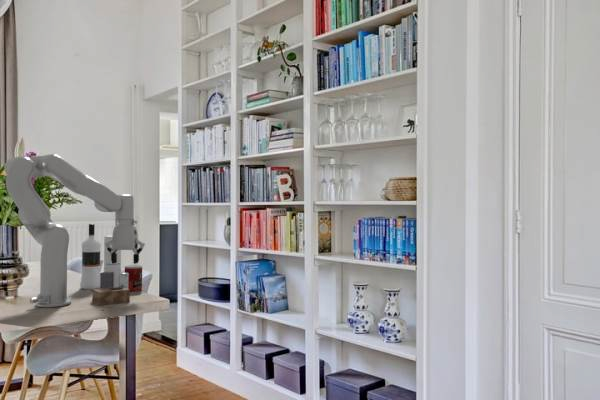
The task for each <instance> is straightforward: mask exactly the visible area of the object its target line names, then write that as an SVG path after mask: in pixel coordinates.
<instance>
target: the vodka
mask: <svg viewBox="0 0 600 400" xmlns="http://www.w3.org/2000/svg"><path fill="white" fill-rule="evenodd" d="M95 226H96V225H95V223H89V224H88V237H87V238H86V239H85V240H83V242H82V243H81V278H80V279H81V280H80V283H79V287H80V289H82V290H92V289H100V273H101V251H102V250H101V248H102V243H101V241H100V240H98V239H97V238H96V237H95V235H96V234H95Z"/></svg>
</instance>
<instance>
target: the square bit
mask: <svg viewBox="0 0 600 400" xmlns="http://www.w3.org/2000/svg"><path fill="white" fill-rule="evenodd" d="M111 287H114V272H104V271H103V272H100V288H99V289H101V288H111Z"/></svg>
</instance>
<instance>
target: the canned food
mask: <svg viewBox="0 0 600 400" xmlns="http://www.w3.org/2000/svg"><path fill="white" fill-rule="evenodd" d="M124 273H129V276H128V289H130V292H139V291H142V289H143V266H142V265H137V264H131V265H130V264H129V265H125V266H124Z"/></svg>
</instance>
